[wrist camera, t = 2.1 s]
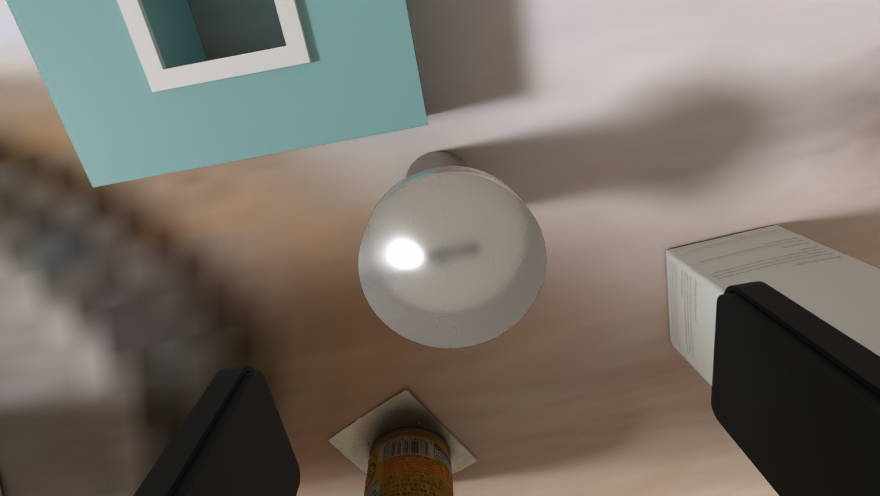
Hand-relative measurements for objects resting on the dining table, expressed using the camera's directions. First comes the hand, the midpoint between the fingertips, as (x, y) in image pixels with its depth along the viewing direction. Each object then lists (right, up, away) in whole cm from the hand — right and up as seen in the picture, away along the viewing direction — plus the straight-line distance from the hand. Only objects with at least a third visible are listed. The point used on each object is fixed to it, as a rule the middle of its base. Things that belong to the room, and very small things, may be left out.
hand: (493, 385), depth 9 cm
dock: (-11, +15, +14) cm, 23 cm away
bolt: (-1, +6, +17) cm, 19 cm away
